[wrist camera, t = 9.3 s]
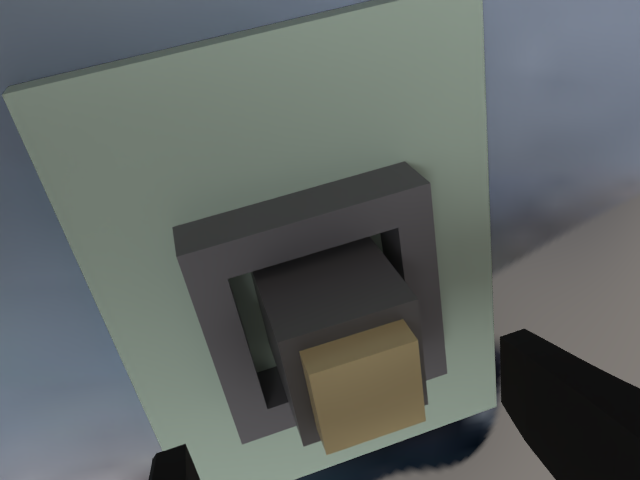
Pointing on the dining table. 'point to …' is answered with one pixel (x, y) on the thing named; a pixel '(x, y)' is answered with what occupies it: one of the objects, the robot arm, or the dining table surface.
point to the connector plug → (345, 344)
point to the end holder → (274, 208)
